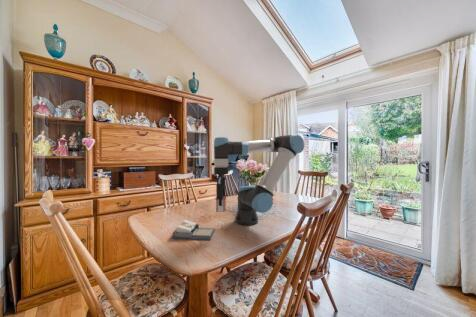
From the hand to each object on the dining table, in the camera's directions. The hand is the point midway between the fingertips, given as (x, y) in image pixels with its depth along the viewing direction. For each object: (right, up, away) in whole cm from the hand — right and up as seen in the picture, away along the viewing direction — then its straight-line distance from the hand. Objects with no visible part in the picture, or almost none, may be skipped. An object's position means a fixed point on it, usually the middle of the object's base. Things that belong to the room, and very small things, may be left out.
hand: (221, 209), depth 107 cm
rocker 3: (-19, -11, +2) cm, 22 cm away
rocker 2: (-19, -11, +6) cm, 23 cm away
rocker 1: (-20, -11, -2) cm, 23 cm away
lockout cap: (0, 0, 0) cm, 1 cm away
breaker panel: (-15, -14, +2) cm, 20 cm away
